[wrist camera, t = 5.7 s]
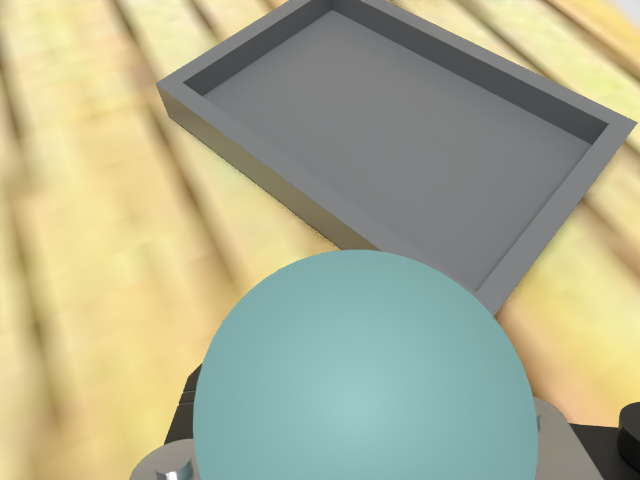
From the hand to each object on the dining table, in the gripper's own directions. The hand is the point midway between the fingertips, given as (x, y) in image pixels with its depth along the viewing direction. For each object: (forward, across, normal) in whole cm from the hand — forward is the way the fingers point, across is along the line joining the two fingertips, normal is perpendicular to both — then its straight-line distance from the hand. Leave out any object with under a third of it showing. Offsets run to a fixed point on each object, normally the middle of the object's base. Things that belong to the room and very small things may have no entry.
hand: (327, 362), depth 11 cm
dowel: (+2, 0, +5) cm, 5 cm away
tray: (+15, -5, -5) cm, 16 cm away
